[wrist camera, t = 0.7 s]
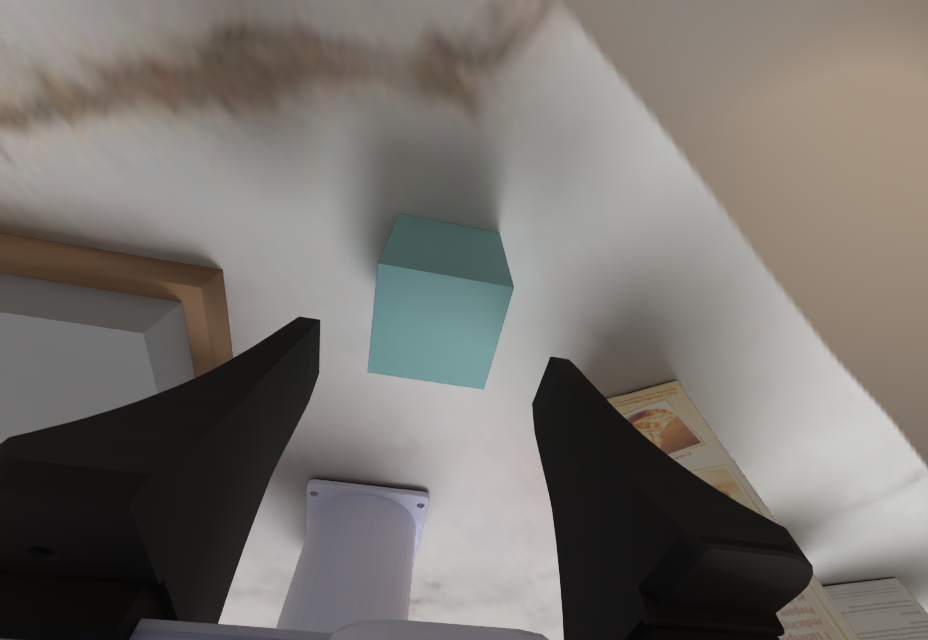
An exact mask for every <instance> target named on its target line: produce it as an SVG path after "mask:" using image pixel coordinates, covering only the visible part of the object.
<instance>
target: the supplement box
mask: <svg viewBox="0 0 928 640" xmlns="http://www.w3.org/2000/svg"><path fill="white" fill-rule="evenodd" d="M823 588H824V589H825V591H826V592H827V593H828V595H829V596H830V598H831V599H832V600H833V602H834V603H835V605H836V606H837V608H838V609H839V610H840V612H841V613H842V615H843V616H844V617H845V619H846V620H847V622H848V623H849V624H850V626H851V627H852V629H853V630H854V631H855V633H856V634H857V636H858V637H859V639H860V640H928V613H927V612H926V611H925V610H924V609H923V607H922V606H921V605H920V604H919V603H918V602H917V601H916V600H915V598H914V597H913V596H912V595H911V594H910V593H909V591H908V590H907V589H906V588H905V587H904V586H903V585H902V583H901V582H900V581H899V580H898V579H897V578H889V579H881V580H873V581H864V582H856V583H848V584H840V585H831V586H823Z"/></svg>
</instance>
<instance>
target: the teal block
mask: <svg viewBox="0 0 928 640" xmlns="http://www.w3.org/2000/svg"><path fill="white" fill-rule="evenodd" d="M513 289H514V286H513V282H512V279H511V275H510V271H509V267H508V263H507V260H506V256H505V252H504V248H503V244H502V241H501V237H500V233H497V232H492V231H487V230H481V229H476V228H471V227H466V226H461V225H455V224H450V223H445V222H440V221H435V220H429V219H424V218H419V217H414V216H409V215H403V214H399V216H398V218H397V220H396V223H395V225H394V227H393V230H392V232H391V234H390V237H389V239H388V241H387V244H386V246H385V248H384V251H383V253H382V255H381V258H380V260H379V262H378V269H377V279H376V290H375V300H374V310H373V320H372V330H371V340H370V350H369V361H368V371H367V372H369V373H375V374H382V375H389V376H396V377H403V378H410V379H416V380H423V381H430V382H437V383H444V384H450V385H457V386H464V387H471V388H478V389H484V387H485V384H486V380H487V377H488V374H489V370H490V367H491V363H492V360H493V357H494V353H495V350H496V346H497V343H498V340H499V336H500V333H501V329H502V326H503V323H504V319H505V316H506V312H507V309H508V306H509V302H510V299H511V295H512V292H513Z"/></svg>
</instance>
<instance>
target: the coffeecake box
mask: <svg viewBox="0 0 928 640" xmlns="http://www.w3.org/2000/svg"><path fill="white" fill-rule="evenodd" d="M607 400H608V402H609V403H610V404H611V405H612V406H613V407H614V408H615V409H616V410H617V411H618V412H619V413H620V414H621V415H622V416H623V417H625V418H626V419H627V420H628V421H629V422H630V423H631V424H632V425H633V426H634V427H635V428H636V429H637V430H638V431H640V432H641V433H642V434H643V435H644V436H645V437H646V438H648V439H649V440H650V441H651V442H652V443H654V444H655V445H656V446H657V447H659V448H660V449H661V450H662V451H663V452H665V453H666V454H667V455H669V456H670V457H671V458H672V459H674V460H675V461H677V462H678V463H679V464H681V465H682V466H684V467H685V468H686V469H688V470H689V471H690V472H692V473H693V474H695V475H696V476H698V477H699V478H701V479H702V480H704V481H705V482H707V483H708V484H710V485H711V486H713V487H714V488H716V489H718V490H719V491H721V492H722V493H724V494H726V495H727V496H729V497H731V498H732V499H734V500H735V501H737V502H739V503H740V504H742V505H744V506H746V507H748V508H749V509H751V510H753V511H755V512H757V513H759V514H760V515H762V516H764V517H766V518H768V519H770V520H771V521H773V522H775V523H777V524H778V522H777V521H776V519H775V518H774V517H773V515H772V514H771V512H770V511H769V510H768V508H767V507H766V505H765V504H764V502H763V501H762V500H761V498H760V497H759V495H758V494H757V492H756V491H755V490H754V488H753V487H752V485H751V484H750V482H749V481H748V480H747V478H746V477H745V475H744V474H743V473H742V471H741V470H740V468H739V467H738V466H737V464H736V463H735V461H734V460H733V459H732V457H731V456H730V455H729V453H728V452H727V450H726V449H725V448H724V446H723V445H722V443H721V442H720V441H719V439H718V438H717V436H716V435H715V434H714V432H713V431H712V429H711V428H710V427H709V425H708V424H707V422H706V421H705V420H704V418H703V417H702V415H701V414H700V412H699V411H698V410H697V408H696V407H695V405H694V404H693V402H692V401H691V400H690V398H689V397H688V395H687V394H686V392H685V391H684V389H683V388H682V386H681V384H680V382H679V381H678V380H677V381H673V382H669V383H665V384H661V385H658V386H654V387H651V388H647V389H644V390H640V391H637V392H633V393H629V394H625V395H621V396H616V397H611V398H607ZM776 615H777V617H778V619H779V621H780V622H781V624H782V626H783V627H784V631H785V634H784V635H782V636H778V638H779V639H780V640H860V639H859V637H858V636H857V634H856V633H855V631H854V630H853V629H852V627H851V626H850V624H849V623H848V622H847V620H846V619H845V617H844V616H843V615H842V613H841V612H840V610H839V609H838V608H837V606H836V605H835V603H834V602H833V600H832V599H831V598H830V596H829V595H828V593H827V592H826V591H825V589H824V588H823V586H822V585H821V583H820V582H819V581H818V579H817V578H816V576H815V575H814V574H813V576H812V579H811V581H810V583H809V585H808V587H807V588H806V589H805V590H804V591H803V592H802V593H801V594H799V595H798V596H797V597H796V598H794V599H793V600H792V601H791V602H789V603H788V604H787V605H786V606H784V607H783V608H782V609H781V610H779V611H778V612H777V613H776Z"/></svg>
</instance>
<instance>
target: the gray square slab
mask: <svg viewBox="0 0 928 640" xmlns="http://www.w3.org/2000/svg"><path fill="white" fill-rule="evenodd" d="M194 378H195V373H194V367H193V362H192V356H191V351H190V345H189V340H188V334H187V329H186V323H185V318H184V312H183V307H182V302H178V301H171V300H165V299H159V298H152V297H146V296H140V295H134V294H127V293H121V292H115V291H108V290H102V289H96V288H90V287H83V286H77V285H71V284H64V283H58V282H52V281H46V280H39V279H33V278H27V277H20V276H14V275H8V274H1V273H0V444H1V443H2V442H3V441H5V440H6V439H7V438H8V437H11V436H16V435H20V434H25V433H29V432H33V431H36V430H40V429H44V428H48V427H52V426H56V425H60V424H64V423H68V422H72V421H76V420H79V419H83V418H87V417H90V416H93V415H96V414H100V413H103V412H106V411H110V410H113V409H116V408H119V407H122V406H125V405H128V404H131V403H134V402H137V401H140V400H142V399H145V398H147V397H150V396H152V395H155V394H158V393H160V392H163V391H165V390H168V389H171V388H173V387H176V386H178V385H180V384H183V383H185V382H187V381H189V380H192V379H194Z"/></svg>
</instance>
